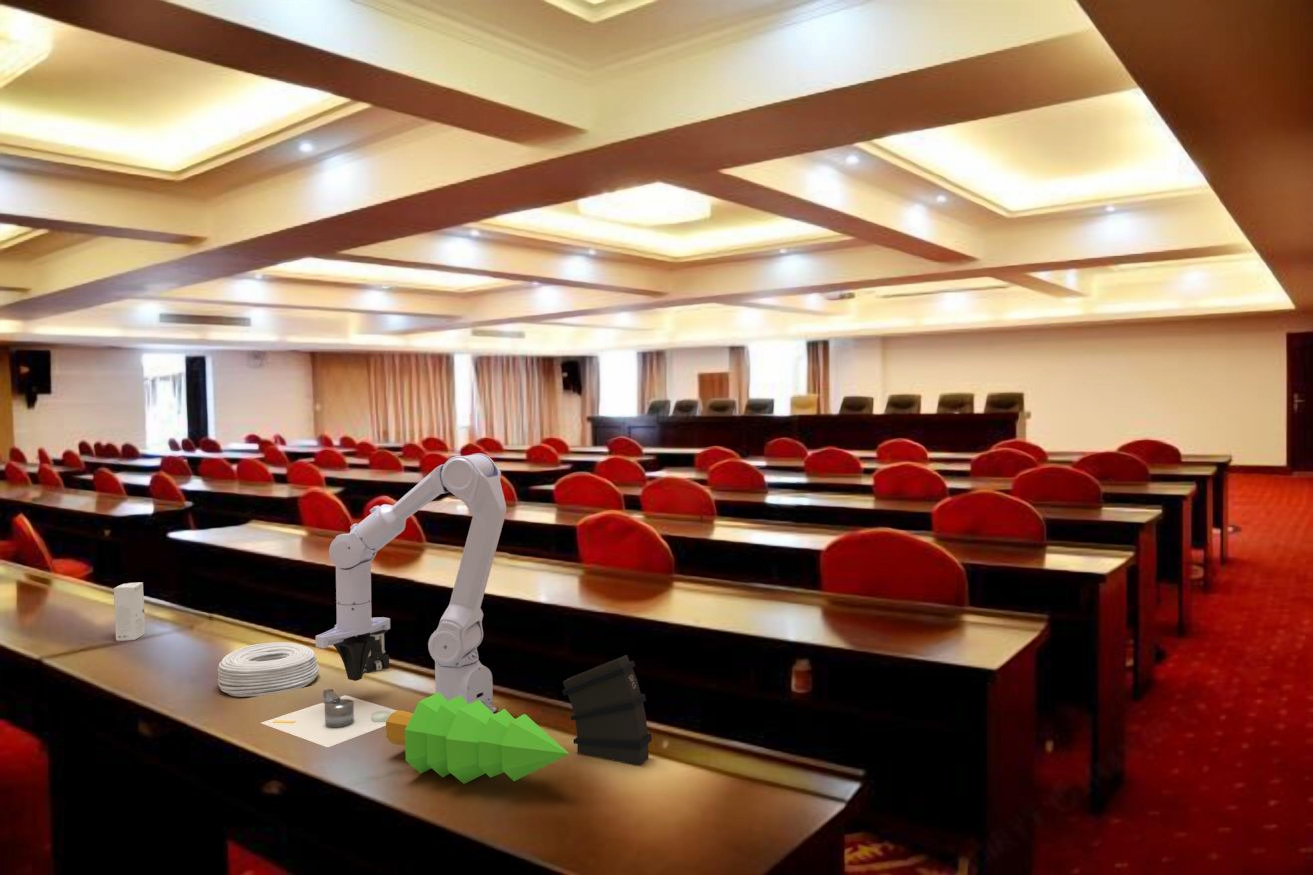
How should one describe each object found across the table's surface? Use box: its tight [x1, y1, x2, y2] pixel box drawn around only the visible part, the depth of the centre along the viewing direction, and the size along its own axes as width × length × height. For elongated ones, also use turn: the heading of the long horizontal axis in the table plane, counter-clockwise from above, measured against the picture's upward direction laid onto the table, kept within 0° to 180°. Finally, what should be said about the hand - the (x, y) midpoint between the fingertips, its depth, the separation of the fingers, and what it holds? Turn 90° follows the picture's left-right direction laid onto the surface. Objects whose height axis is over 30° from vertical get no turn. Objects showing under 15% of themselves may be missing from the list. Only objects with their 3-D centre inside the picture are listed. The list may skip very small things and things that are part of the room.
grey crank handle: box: [322, 688, 354, 727], centre depth 139 cm, size 10×4×3 cm, turn 36°
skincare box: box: [113, 582, 146, 642], centre depth 194 cm, size 6×4×12 cm
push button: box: [363, 616, 390, 673], centre depth 169 cm, size 7×5×10 cm
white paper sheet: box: [260, 694, 398, 748], centre depth 139 cm, size 18×16×2 cm
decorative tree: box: [385, 692, 570, 785], centre depth 119 cm, size 11×12×30 cm
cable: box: [217, 641, 320, 698], centre depth 161 cm, size 18×18×6 cm
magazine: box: [561, 654, 653, 766], centre depth 127 cm, size 4×13×15 cm, turn 64°
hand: (354, 678), depth 148 cm, fingers closed
